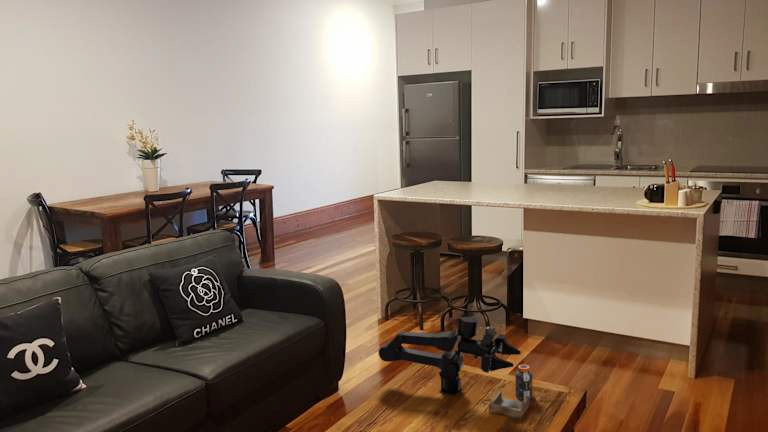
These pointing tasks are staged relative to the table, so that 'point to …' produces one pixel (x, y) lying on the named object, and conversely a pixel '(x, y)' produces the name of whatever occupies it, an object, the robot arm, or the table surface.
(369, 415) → the table surface
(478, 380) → the table surface
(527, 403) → the box
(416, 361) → the robot arm
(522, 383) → the pill bottle
